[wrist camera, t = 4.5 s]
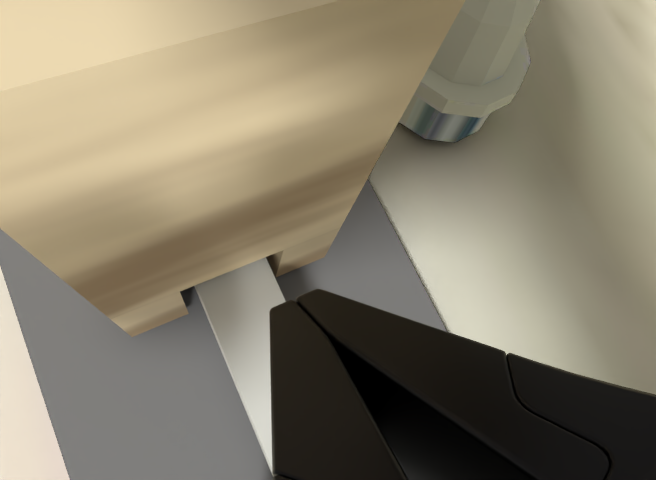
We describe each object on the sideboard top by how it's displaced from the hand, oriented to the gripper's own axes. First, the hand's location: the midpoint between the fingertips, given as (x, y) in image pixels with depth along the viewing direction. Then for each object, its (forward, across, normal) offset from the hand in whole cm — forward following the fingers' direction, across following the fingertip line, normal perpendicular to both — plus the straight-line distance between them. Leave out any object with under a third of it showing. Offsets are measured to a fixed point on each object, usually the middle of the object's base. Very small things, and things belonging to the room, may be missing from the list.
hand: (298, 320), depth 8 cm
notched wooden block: (+10, 0, +3) cm, 11 cm away
